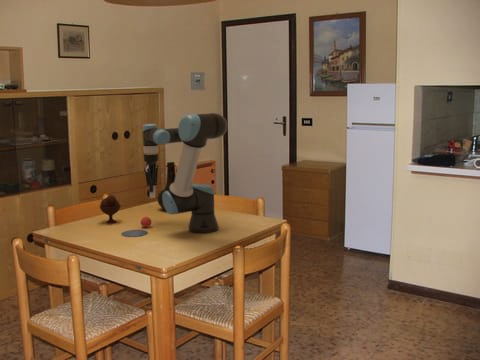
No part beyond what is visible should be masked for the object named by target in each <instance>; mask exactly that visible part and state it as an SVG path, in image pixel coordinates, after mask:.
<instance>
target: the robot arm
mask: <svg viewBox="0 0 480 360" xmlns="http://www.w3.org/2000/svg"><path fill="white" fill-rule="evenodd" d="M227 131H228V122H227V119H226V118H225V117H224V116H223V115H221V114H220V113H216V112H215V113H214V112H212V113H211V112H210V113H197V114H196V113H191V114H186V115H184V116H182V118H181V119H180V121H179V123H178V127H175V128H173V127H172V128H171V127H170V128H158V125H157V123H145V124H143V125H142V144H143V145H142V149H143V161H144V162H146V164H145V165H146V168H143V172H144V174H145V181H146V186H148V188H149V189H148V191H149V198H150V199H155V198H157V197H156V186H158V174H159V168H160V167H159V166H160V165H158V164H157V162H159V145H160V146H162V145H163V146H165V145H167V144H175V143H182V148H181V153H180V156H179V161H178V163H177V164H178V165H177V169H176V171H175V181H174V183H172V184H171V185H170V188H169V191H165V192H164V193H163V196H162V200H163V205H164V207H165V209H166V210H165V211H166V213H167V214H169V215H179V214H183V213H188V212H191V216H190V219H189V222H188V231H189V232H190V233H196V234H197V233H198V234H206V233H207V234H208V233H214V232H216V231H218V230H219V223H218V220H217V218H216V214H215V189H214V186H212V185H209V184H204V183H193V182H194V178H195V176H196V175H195V174H196V170H197V166H198V163H199V159H200V157H201V156H200V155H201V153H202V149H203V148H205V147H206V146H207V142H208V140H213V139H218V138H221V137H223V136H224V135H225V134H226V132H227Z"/></svg>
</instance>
